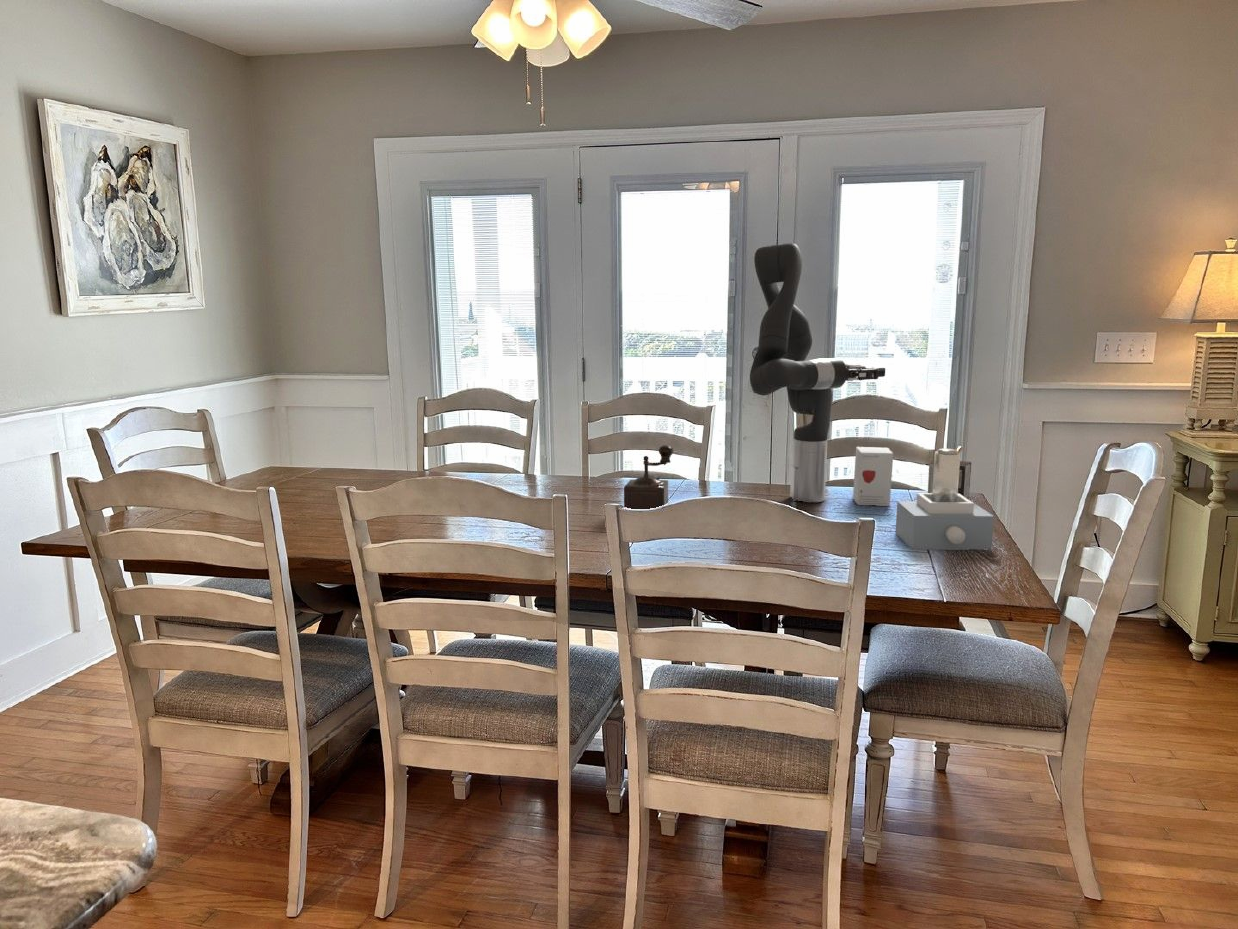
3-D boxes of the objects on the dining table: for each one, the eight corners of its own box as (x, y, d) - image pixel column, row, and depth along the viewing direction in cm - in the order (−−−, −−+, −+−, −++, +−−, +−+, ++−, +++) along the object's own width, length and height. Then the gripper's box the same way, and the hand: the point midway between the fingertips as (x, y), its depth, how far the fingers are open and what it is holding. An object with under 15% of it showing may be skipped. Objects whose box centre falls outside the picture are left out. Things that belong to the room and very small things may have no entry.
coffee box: (967, 524, 233) (972, 461, 229) (961, 529, 227) (966, 465, 224) (931, 519, 238) (935, 457, 234) (924, 524, 232) (928, 461, 229)
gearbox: (916, 553, 207) (919, 508, 205) (895, 533, 224) (898, 491, 222) (996, 554, 207) (1000, 508, 205) (969, 533, 224) (972, 491, 222)
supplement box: (856, 505, 252) (859, 452, 249) (852, 498, 260) (855, 446, 257) (890, 506, 251) (893, 452, 248) (885, 499, 259) (888, 446, 256)
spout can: (944, 511, 212) (949, 450, 209) (925, 506, 216) (930, 447, 214) (967, 508, 215) (971, 448, 212) (948, 503, 220) (952, 444, 217)
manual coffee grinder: (665, 525, 232) (666, 454, 228) (622, 522, 234) (622, 453, 230) (674, 510, 247) (674, 444, 243) (633, 508, 249) (633, 442, 245)
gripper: (843, 360, 220) (893, 357, 227) (804, 356, 232) (853, 353, 240) (842, 391, 221) (891, 388, 229) (803, 386, 233) (851, 382, 241)
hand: (872, 370), depth 234 cm, fingers open, 8 cm apart
